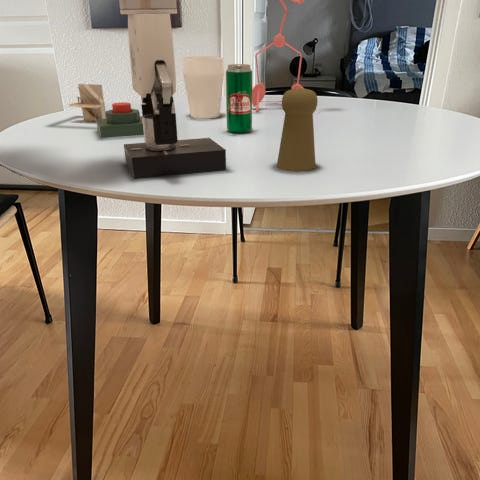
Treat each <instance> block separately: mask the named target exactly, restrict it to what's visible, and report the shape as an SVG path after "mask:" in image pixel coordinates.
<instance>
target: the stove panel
mask: <svg viewBox="0 0 480 480" xmlns="http://www.w3.org/2000/svg"><path fill="white" fill-rule="evenodd" d="M123 151H124V160H125V164H126V166H127V168H128V170H129V172H130V174H131V175H132V177H133V179H144V178H145V179H146V178H155V177H157V178H158V177H165V176H177V175H188V174H198V173H208V172H219V171H227V150H226V148H224V147H223V146H221V145H220V144H218V143H217V142H216V141H214V139H212V138H211V137H202V138H188V139H178V142H177V143H176V147H175V148H174V149H172V150H167V151H150V150H147V149H145V142H136V143H135V142H134V143H124V144H123Z"/></svg>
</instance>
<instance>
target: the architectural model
mask: <svg viewBox="0 0 480 480" xmlns="http://www.w3.org/2000/svg"><path fill="white" fill-rule="evenodd" d="M77 86H78V87H77V89H78V92H79V96H78V95H77V96H76V98H77V102H72V103H69V104H67V106H68V108H71V107H72V108H80V109H81V111H82V115H76V116H71V119H82V118H83V121H87V122H88V121H89V122H96V119H106V115H105V112H106V111H107V110H106V105H105V99H104V92H103V86H102V84H93V83H91V84H89V83H86V84H85V83H78V85H77Z"/></svg>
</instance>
